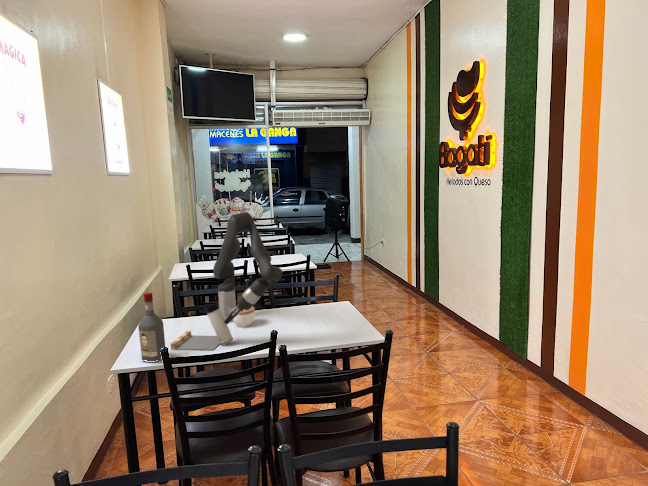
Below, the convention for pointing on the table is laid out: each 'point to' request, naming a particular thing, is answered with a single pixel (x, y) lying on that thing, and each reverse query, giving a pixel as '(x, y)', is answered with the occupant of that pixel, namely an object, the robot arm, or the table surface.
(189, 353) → the table surface
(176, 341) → the rail
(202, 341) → the mat
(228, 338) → the travel mug
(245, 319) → the lidded bowl
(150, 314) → the liquor
